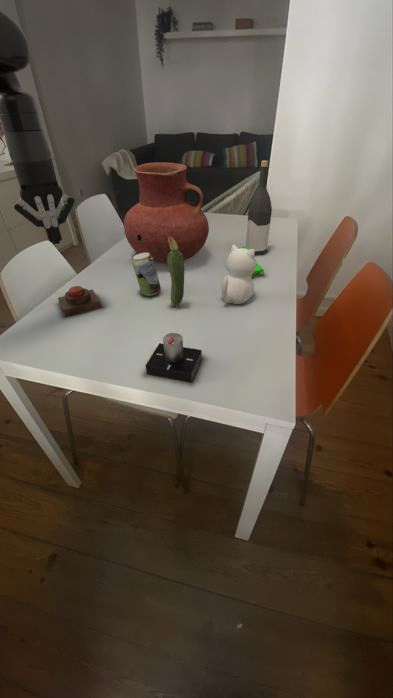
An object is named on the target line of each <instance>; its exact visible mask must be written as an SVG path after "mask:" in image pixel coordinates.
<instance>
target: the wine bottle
mask: <svg viewBox="0 0 393 698" xmlns="http://www.w3.org/2000/svg"><path fill="white" fill-rule="evenodd" d="M259 167H260V168H259V180H258V187H257V189H256V191H255V193H254V194H253V196H252V198H251V200H250V203H249V206H248V213H247V225H246V239H245V247H246V248H248V249H254V251H255V254H254V256H263V255H265V254H266V253H267V251H268V244H269V238H270V237H269V236H270V230H271V229H270V228H271V219H272V211H273V209H272V201H271V197H270V196H271V195H270V194H269V191H268V188H267V181H268V171H269V160H261V164H260V166H259Z"/></svg>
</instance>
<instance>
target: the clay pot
mask: <svg viewBox="0 0 393 698" xmlns="http://www.w3.org/2000/svg"><path fill="white" fill-rule="evenodd" d="M187 170H188V167H187V165H185V164H182V163H177V162H166V161H165V162H164V161H162V162H161V161H159V162H147V163H143V164H139V165H137V166H135V167H134V169H133V171H134V174H135V176H136V179H137V181H138V187H139V189H138V190H139V192H138V193H139V202H138V203H136V204H135V205H133V206H132V207H131V208H130V209H128V211H127V212H126V214H125V216H124V220H123V230H124V235H125V238H126V240H127V242H128V244H129V246H130V247H131V249H133V251H135V252H136V253H137V254H140V253H150V255H151V256H152V257H153V260H154V263H160V264H161V263H163V264H167V256H168V254H169V253H170V252H171V249H170V246H169V242H168V238H169V237H172V238H173V239H174V240H175V241H176V243H177V246H178V251H179V252H181V253H182V255H183V259H184V262H185V261H187V260H189V259H192V258H193V257H194V256H196V255H198V253H199V252H200V251H201V250H202V249H203V247H204V246H205V244H206V242H207V240H208V236H209V233H210V225H209V221H208V218H207V216H206V214H205V213H204V211H203V210H202V209H201V208H202V204H203V200H204V195H203V194H204V193H203V191H202V190H201V188H200V187H199V186H196V185H195V184H191V183H189V182H188V180H187ZM189 191H192V192H195V194H196V195H197V202H196V203H194V202H192V201H191V200H190V199H188V198H187V195H186V194H187V192H189Z"/></svg>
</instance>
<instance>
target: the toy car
mask: <svg viewBox="0 0 393 698" xmlns="http://www.w3.org/2000/svg"><path fill="white" fill-rule="evenodd" d="M237 248H238V249H240V248H244V249H247V250H250V249H248V248H246V246H242V247H241V246H240V247H237ZM264 270H265V269H264V268H263V267H262V266H261V265H259V264H258V263H257V262H256V268H255V270H254V272H253V273H252V274H251V275H249V276H250V277H251V278H255V277H258V276H262V275H264V274H265V271H264Z"/></svg>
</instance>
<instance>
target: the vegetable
mask: <svg viewBox="0 0 393 698" xmlns="http://www.w3.org/2000/svg"><path fill="white" fill-rule="evenodd" d="M168 242H169V246H170V249H171V252H170V253H169V254H168V256H167V263H166V265H167V267H168V271H169V275H170V279H171V284H170V285H171V286H170V305H172V306H173V307H176V308H178V306H179V305H180V304H181V303H182V302H183V298H184V293H185V292H184V291H185V261H184V259H183V255H182V253H181V252H179V251H178V246H177V243H176V241H175V240H174V239H173V238H172V237H169V238H168Z"/></svg>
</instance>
